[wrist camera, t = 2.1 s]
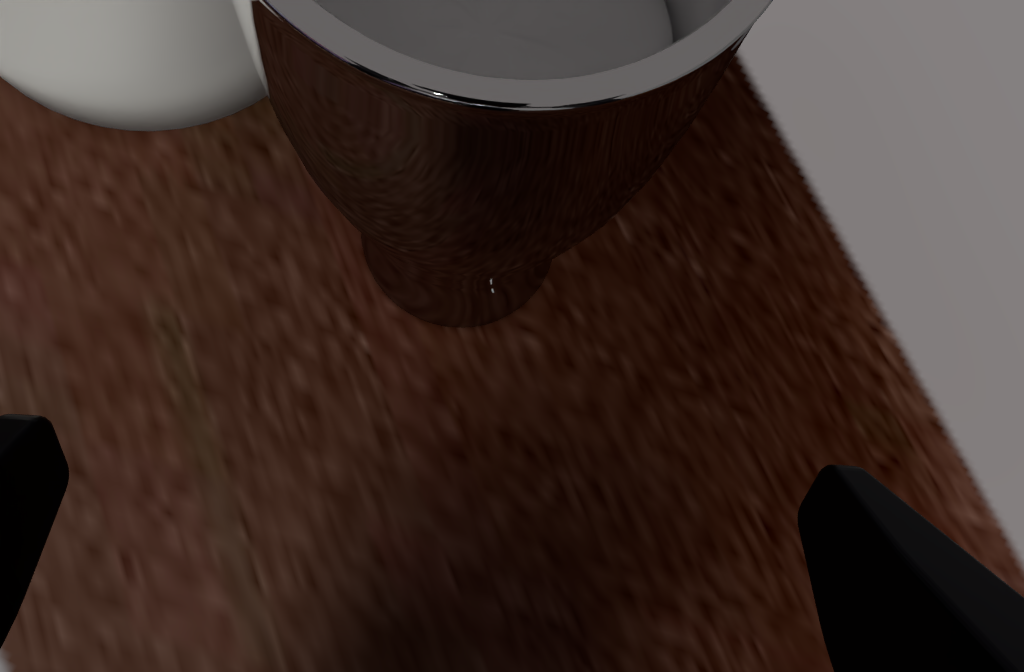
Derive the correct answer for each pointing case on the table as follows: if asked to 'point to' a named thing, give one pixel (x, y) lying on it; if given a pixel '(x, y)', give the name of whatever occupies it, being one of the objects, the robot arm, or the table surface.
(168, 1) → the cream stand
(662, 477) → the table surface
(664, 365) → the table surface
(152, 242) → the table surface
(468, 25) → the beer glass
